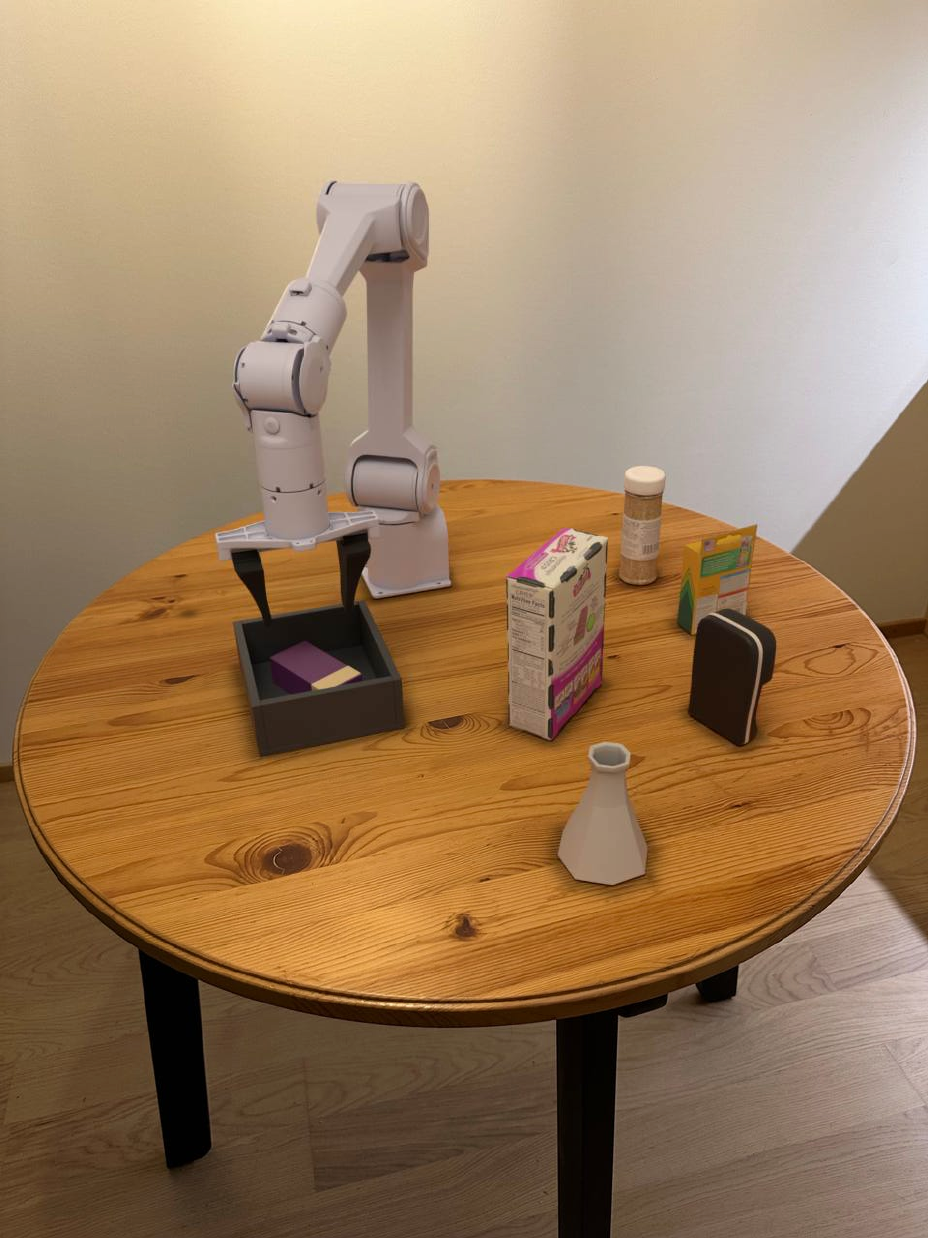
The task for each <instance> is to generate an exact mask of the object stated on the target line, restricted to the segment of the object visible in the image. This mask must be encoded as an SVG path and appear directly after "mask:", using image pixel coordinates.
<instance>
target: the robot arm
mask: <svg viewBox="0 0 928 1238" xmlns="http://www.w3.org/2000/svg"><path fill="white" fill-rule="evenodd" d="M318 193H319V194H318V197H317V201H316V209H315V218H316V225H317V226H316V227H317V231H318V236H319V238H318V241H317V244H316V247H315V249H314V252H313V255H312V257H311V260H310V263H309V266H308V269H307V271H306V273H305V276H304V277H299V278H296V279H294V280H292V281H290V283H288V284H287V285H286V287H285V289H284V292H283V293H282V296H281V297H280V299H279V302H278V303H277V305H276V307H275V308H274V311H273V313H272V315H271V317H270V318H269V321H268V323H267V325H266V327H265V329H264V331H263V332H262V334H261V337H260V339H259V340H253V341H251V342H249V343H248V344H247V345H246V346H243V347H242V348H240V350H239V351H238V352H237V354H236V357H235V360H234V364H233V368H232V369H233V371H232V377H233V378H232V384H231V389H232V394H233V397H234V400H235V402H236V405H237V406H238V407H239V409H240V410H241V412H242V415H243V420H244V427H245V428H246V430H247V431H248V432H249V433H251V434H252V439H253V445H254V452H255V461H256V467H257V468H256V469H257V475H258V483H259V490H260V497H261V505H262V512H263V520H261V521H257V522H254V523H251V524H247V525H244V526H240V527H238V528H234V529H231V530H226V531H220V532H215V533H214V536H215V543H216V549H217V554H218V559H219V562H227V561H232V566H233V569H234V572H235V574H236V575H237V577H238V579H239V580H240V581H241V582H242V583H243V585H244V586H245V588H246V589H247V591H248V592H249V593H250V595H251V597H252V599H253V600H254V602H255V604H256V606H257V608H258V610H259V612H260V615H261V617H262V619H263V623H264V626H272V619H271V615H272V614H271V610H270V606H269V602H268V598H267V597H268V596H267V588H266V579H265V578H266V577H265V570H264V567H263V563H262V557H261V555H260V553H264V552H270V551H271V552H272V551H279V550H283V549H292V551H293V552H295V553H301V552H307V551H313V550H316V549H317V548H318V547H317V546H318V545H319V544H323V543H330V542H336V549H337V550H336V551H337V556H338V565H339V580H340V584H339V585H340V586H339V587H340V598H341V604H343V606H344V609H345V611H346V613H348V612H353V607H354V601H355V599H356V594H357V589H358V586H359V583H360V579H361V577H362V578H363V580H364V582H365V585H366V587H367V589H368V591H369V593H370V595H371V597H372V598H373V599H383V598H388V597H395V596H401V595H407V594H412V593H419V592H423V591H424V592H425V591H431V590H437V589H442V588H448V587H451V586H452V580H451V579H450V554H449V552H450V549H449V531H448V524H447V520H446V519H447V518H446V516H445V513H444V511H443V509H442V507H441V506H440V505H439V504H437V503H438V501H439V497H440V491H441V470H440V467H439V462H438V450H437V446H436V444H435V443H434V442H433V441H432V440H430V439H429V438H427V437H426V436H425V435H424V434H423V433H422V432H420V431H419V430H417V429H416V427H415V426H414V425H413V390H414V389H413V388H414V387H413V381H414V380H413V379H414V378H413V374H414V373H413V372H414V371H413V368H414V367H413V366H414V365H413V361H414V360H413V359H414V358H413V355H414V353H413V352H414V351H413V350H414V348H413V345H414V344H413V339H414V338H413V336H414V335H413V333H414V330H413V327H414V326H413V323H414V322H413V319H414V318H413V317H414V315H413V311H414V308H413V307H414V306H413V304H414V301H413V299H414V297H413V296H414V281H415V280H414V279H415V273H416V272H418V271H420V270H423V269H424V268H427V266H428V257H429V254H430V209H429V204H428V202H427V198H426V194H425V192H424V190H423V189H422V188H421V186H420V184H419V183H417V182H416V181H408V182H407V183H401V182H400V183H398V182H397V183H396V182H395V183H394V182H391V183H390V182H340V181H339V182H338V181H337V180H328V181H326V182H325V183H324V185H323V186H322V188H321V190H320V191H319V192H318ZM358 272H359V273H360V274H361V276H362V277H363V278H364V281H365V285H366V342H367V344H366V346H367V347H366V348H367V349H366V351H367V354H366V355H367V409H368V411H367V414H368V415H367V416H368V417H367V418H368V429H366V430H365V431H364V432H362V433H361V434H359V435H358V436H357V437H356V438H354V439H353V440H352V442H351V443H350V444H349V445H348V450H347V463H346V468H345V473H344V492H345V496H346V498H347V500H348V502H349V504H350V505H351V506H352V507H355V508H357V511H329V505H328V504H329V503H328V494H327V483H326V472H325V462H324V461H325V460H324V451H323V443H322V442H323V441H322V432H321V421H320V411H321V409H322V408H323V406H324V405H325V403H326V399H327V395H328V391H329V390H328V389H329V377H330V373H331V370H332V368H331V367H332V361H331V358H330V356H331V353H332V351H333V349H334V346H335V344H336V342H337V340H338V338H339V336H340V333H341V331H342V329H343V327H344V324H345V322H346V320H347V318H348V317H347V316H348V310H347V309H348V308H347V305H346V302H345V299H344V295H345V294H346V293H347V291H348V289H349V287H350V286H351V284H352V282H353V281H354V279H355V278H356V276H357V275H358Z"/></svg>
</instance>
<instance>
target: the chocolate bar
mask: <svg viewBox="0 0 928 1238" xmlns="http://www.w3.org/2000/svg"><path fill="white" fill-rule="evenodd" d="M270 664H271V671H272V678H273V683H275V684H276V685H278V686H279V687H281V688H282V689H284V690H285V691H287V692H288V693H290V694H291V695H292V694H298V693H303V692H308V691H314V690H319V689H324V688H330V687H335V686H340V685H345V684H351V683H356V682H361V681H362V674H361V673H360V672H358V671H356V670H355V669H353V668H351V667H350V666H347V665H345V664H344V663H342V662H340V661H339V660H337V659H335V658H334V657H332V656H330V655H329V654H327V653H325V652H324V651H322V650H320V649H318V648H317V647H315V646H313V645H312V644H310V643H308V642H307V641H303V642H301V643H299V644H297V645H295V646H293V647H291V648H289V649H287V650H284V651H282V652H280V653H278V654H276V655H274V656H272V657H270Z"/></svg>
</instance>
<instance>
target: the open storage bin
mask: <svg viewBox="0 0 928 1238" xmlns="http://www.w3.org/2000/svg"><path fill="white" fill-rule="evenodd" d="M271 619H272V626H264V623H263V619H262V616H258V617H253V618H247V619H241V620H234V621H232V625H233V631H234V639H235V644H236V650H237V657H238V663H239V669H240V674H241V678H242V684H243V687H244V692H245V696H246V701H247V705H248V710H249V714H250V719H251V724H252V728H253V734H254V737H255V741H256V742H255V743H256V747H257V750H258V755H259V758H262V757H267V756H273V755H276V754H283V753H287V752H292V751H297V750H302V749H307V748H312V747H316V746H317V747H318V746H323V745H327V744H331V743H332V744H333V743H336V742H342V741H346V740H351V739H356V738H361V737H366V736H371V735H376V734H382V733H386V732H391V731H396V730H401V729H405V712H404V710H405V709H404V696H403V680H402V679H403V678H402V677H401V674H400V672H399V671H398V668H397V666H396V664H395V662H394V660H393V657H392V656H391V653H390V651H389V648H388V647H387V644H386V643H385V640H384V638H383V635H382V634H381V631H380V629H379V627H378V625H377V624H376V620H375V619H374V617H373V615H372V613H371V611H370V608H369V607H368V604H367V602H366V600H365V599H361V600H354V607H353V612H348V613H346V611H345V609H344V606H343V604H342V603H336V604H332V605H325V606H319V607H313V608H307V609H301V610H294V611H288V612H283V613H277V614H271ZM303 641H307V642H308V643H310V644H312V645H313V646H315V647H317V648H318V649H320V650H322V651H324V652H325V653H327V654H329V655H330V656H332V657H334V658H335V659H337V660H339V661H340V662H342V663H344V664H345V665H347V666H350V667H351V668H353V669H355V670H356V671H358V672H360V673H361V674H362V681H361V682H356V683H351V684H345V685H340V686H335V687H330V688H324V689H319V690H314V691H308V692H303V693H298V694H292V695H291V694H290V693H288V692H287V691H285V690H284V689H282V688H281V687H279V686H278V685H276V684H275V683H273V678H272V671H271V664H270V657H272V656H274V655H276V654H278V653H280V652H282V651H284V650H287V649H289V648H291V647H293V646H295V645H297V644H299V643H301V642H303Z"/></svg>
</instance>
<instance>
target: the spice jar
mask: <svg viewBox="0 0 928 1238" xmlns="http://www.w3.org/2000/svg"><path fill="white" fill-rule="evenodd" d="M666 479H667V478H666V473H665V471H663V470H662V469H661V468H658V467H655V466H649V465H639V466H633V467H630V468H629V469H626V470H625V472H624V480H623V488H624V490H623V491H624V503H623V505H624V506H623V512H622V524H621V525H622V526H621V539H620V540H621V541H620V542H621V543H620V565H619V571H618V577H619V579H621V580H622V581H623V582H624V583H627V584H628V585H634V586H645V585H649V584H652V583H653V582H655V581H656V579H657V577H658V572H657V566H658V565H657V564H658V556H659V552H660V541H661V530H662V529H661V528H662V518H663V515H662V508H663V494H664V492H665V489H666Z"/></svg>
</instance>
